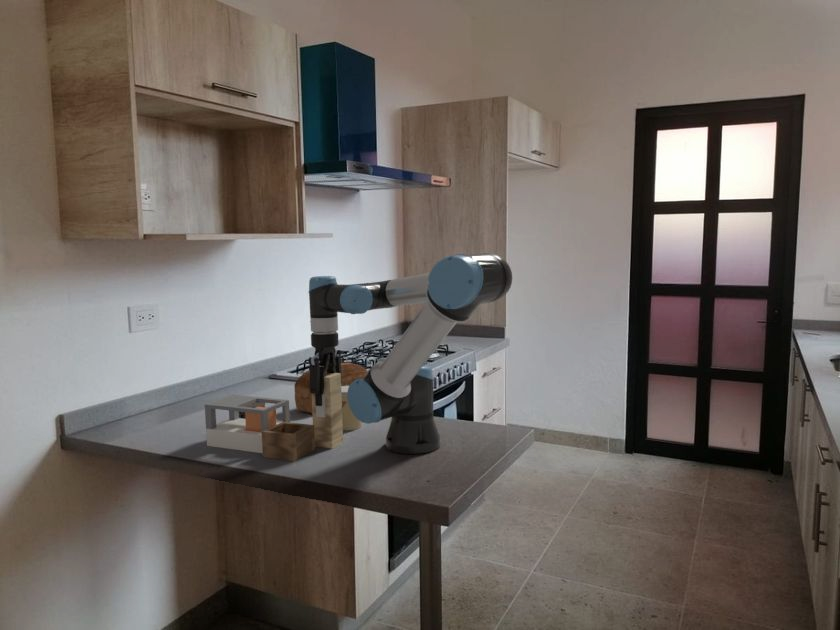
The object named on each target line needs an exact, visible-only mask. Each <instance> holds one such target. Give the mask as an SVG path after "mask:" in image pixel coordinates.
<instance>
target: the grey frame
mask: <svg viewBox="0 0 840 630" xmlns="http://www.w3.org/2000/svg"><path fill="white" fill-rule="evenodd" d="M256 402H263V403H265V404H272V405H270V406H266V407H267V408H265V409H260V408H250V407H245V406H248V405H250V404H253V403H256ZM280 408H282V411H281V412H282V422H291V418H290V417H291V416H290V400H289V399H282V398H281V399H280V398H269V397H260V396H249V395H238V394H231V395H227V396H225V397H222V398H219V399H216V400H214V401H210V402H208V403H205V404H204V416H205V434H206V446H207V447H214V448H220V449H227V450H236V451H243V452H250V453H259V454H263V449H262V431H264V430H266V429H268V428H269V422H268V412H270V411H272V410H275V409H276V410H277V409H280ZM216 410H220V411H221V410H222V411H228V418H229V419H227V420H223V421H221V422H219V423H217V415H216V414H217V413H216V412H217V411H216ZM239 412H248V413H257V414H261V432H256V431H247V430H246V420H245V419H242V418H239ZM279 423H280V422H277V421H276V425H277V424H279Z"/></svg>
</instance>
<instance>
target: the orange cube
mask: <svg viewBox="0 0 840 630" xmlns="http://www.w3.org/2000/svg"><path fill="white" fill-rule="evenodd" d="M267 407H268V406H265V407H260V406H258V407H255V408H260V409H265V408H267ZM245 420H246V430H247V431H256V432H261V414H257V413H248V412H245ZM268 422H269V428H271V427H273V426H275V425H276V422H277V409H275V410H272V411H270V412H268Z"/></svg>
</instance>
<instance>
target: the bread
mask: <svg viewBox="0 0 840 630" xmlns="http://www.w3.org/2000/svg"><path fill="white" fill-rule="evenodd" d="M322 367H324V366H322ZM326 372H327V371H326ZM341 373H342V384H341V386H350V384H351V383H352V382H353V381H355V380H357V379H362V378H364V377H365V376H366V375H367V373H368V370H367V369H366V368H365V367H364V366H363V365H360V364H356V363H352V362H341ZM294 401H295V403H294V404H295V407H296V409H297V410H299V411H300V412H304V413H306V414H307V413H309V414H312V393H310V369H309V370H307V371H305V372H304V373H303V374H301V375H300V376H299V377H298V379H297V380H296V381H295V382H294Z"/></svg>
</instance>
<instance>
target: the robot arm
mask: <svg viewBox="0 0 840 630" xmlns="http://www.w3.org/2000/svg"><path fill="white" fill-rule="evenodd" d="M308 281H309V283H308V294H309V295H308V297H309V298H308V300H309V317H310V318H309V319H310V321H309V322H310V331H311V334H310V346H311V347H312V348H314V349H315V350H314V356H313V357H311V356H310V357H308V365H309V370H310V393H312V394H315V404H316V417H324V418H325V417H326V403H325V394H323V391H324V377H325V375H326V371H327V373H341V363H342V359H341V358H342V357H341V356H342V350H341V349H336V348H335V347H338V346H339V344H340V343H339V333H338V331H339V319H338V313H342V314H351V315H357V314H358V315H359V314H361V315H363V314H365V313H367V312H369V311H373V310H380V309H381V310H382V309H391V308H395V307H400V306H410V305H417V304H422V303H424V304H423V306H422V308H421V309H420V311H419V312H418V313H417V315H416V316H415V317H414V319H413V320H412V321H411V323H410V324H409V325H408V327H407V329H406V330H405V331H404V333H403V334H402V335H401V336H400V338H399V339H398V340H397V342H395V343H396V344H395V345H394V346H393V348H392V349H391V350H390V352H389V353H388V355H387V356H386V357H385V359H384V360H383V361H378V362H376V363H374V364H373V365H372V367H370V369H369V370H368V371H367V375H366V376H365V377H364V378H362V379H357V380H355V381H353V382H352V383H351V384H350V386H349V388H348V392H347V398H348V404H349V407H350V409H351V411H352V413H353V415H354V416H355V417H356V418H357V419H358V420H359V421H361V422H362V423H364V424H374V423H379V422H381V421H384V420H387V419H389V418H390V419H391V420H390V422H389V426H388V431H387V434H386V437H385V448H386V449H387V450H389V451H391V452H394V453H398V454H403V455H404V454H405V455H419V454H425V453H430V452H433V451H436V450H438V449H439V448H440V447H441V437H440V432H439V429H438V427H437V424H436V422H435V419H434V418H435V417H434V381H435V380H434V378H433V369H432V368H431V367H430V366H429V365H427V364H426V363H427V362H428V360H429V359H430V357H431V356H432V355H433V354H434V352H435V351H436V349H438V347H439V346H440V345H441V344H442V342H443V341H444V340H445V339H446V337H447V336H448V334H449V333H450V332H451V331H452V329H453V328H454V327H455V325H457V323H465V322H467V320H468V319H469V318H470V317H471V316H472V314H473V313H474V312H475V311H476V310H477V308H478V307H479V306H480V305H482V304H484V305H485V304H489V303H494V302H497V301H499V300H501V299H503V297H506V295H507V293H508V292H509V291H510V289H511V286H512V284H513V272H512V268H511V266H510V265H509V263H508V262H507V260H505V259H504V258H503V257H502V256H499V255H497V254H495V253H489V252H488V253H486V252H485V253H475V254H466V253H465V254H464V253H463V254H462V253H460V254H459V253H458V254H457V253H456V254H452V255H450V256H446V257H444V258H440V260H439V261H437V262H436V263H435V264H434V265H433V267H432V268H431V270H430V272H427V273H422V274H417V275H411V276H405V277H401V278H400V277H399V278H394V279H387V280H383V281H381V280H380V281H373V282H365V283H362V282H361V283H353V284H352V283H351V284H338V282H337V278H336V276H332V275H320V276H312V277H310V278H309V280H308ZM322 366H324V367H322ZM341 384H342V373H341Z"/></svg>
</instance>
